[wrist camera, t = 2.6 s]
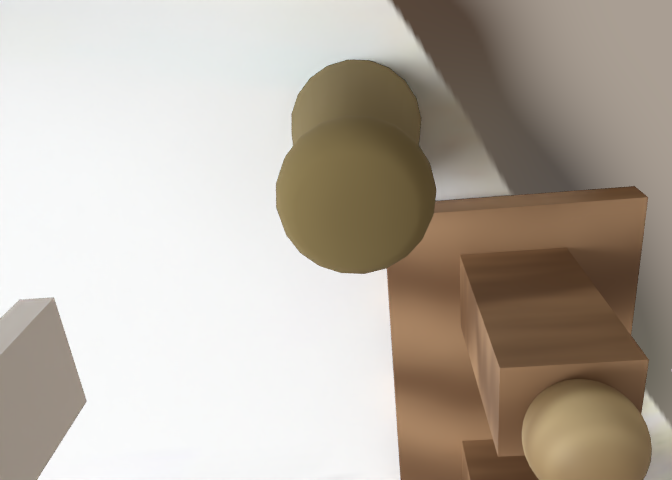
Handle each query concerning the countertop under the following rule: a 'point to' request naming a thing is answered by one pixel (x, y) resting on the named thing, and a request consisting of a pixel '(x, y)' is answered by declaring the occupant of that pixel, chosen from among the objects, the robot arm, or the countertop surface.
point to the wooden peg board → (522, 340)
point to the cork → (355, 170)
